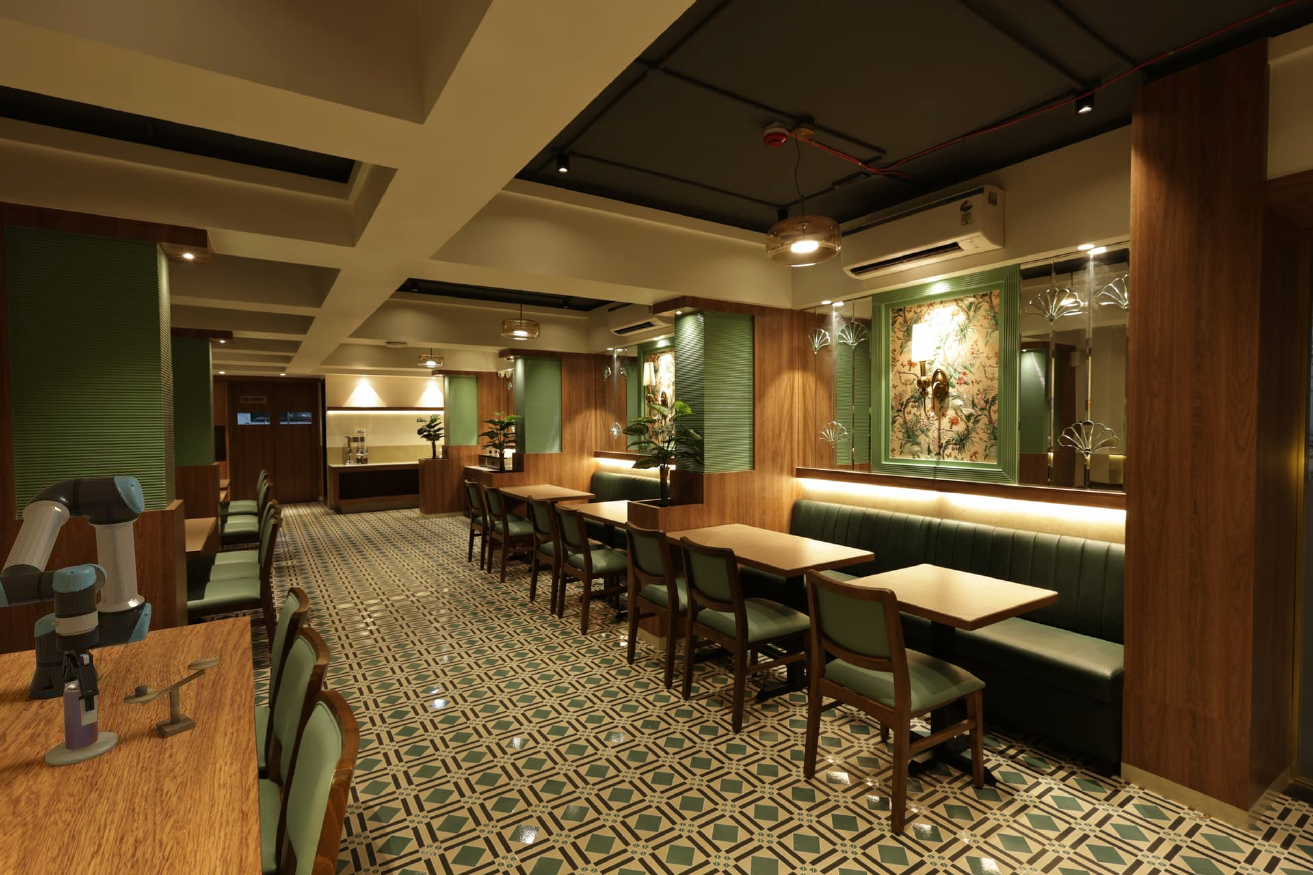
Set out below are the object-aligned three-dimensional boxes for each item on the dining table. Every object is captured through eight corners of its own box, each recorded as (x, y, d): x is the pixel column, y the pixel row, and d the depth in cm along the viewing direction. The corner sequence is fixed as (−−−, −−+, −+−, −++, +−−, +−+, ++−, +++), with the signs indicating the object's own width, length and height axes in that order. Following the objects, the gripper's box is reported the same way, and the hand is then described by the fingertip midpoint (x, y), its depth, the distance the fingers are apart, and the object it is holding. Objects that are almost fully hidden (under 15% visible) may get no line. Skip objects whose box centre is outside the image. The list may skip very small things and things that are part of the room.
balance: (120, 740, 154) (117, 682, 154) (214, 707, 171) (212, 655, 170) (130, 750, 150) (128, 690, 149) (226, 715, 167) (224, 661, 166)
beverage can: (78, 753, 146) (75, 692, 146) (58, 750, 147) (56, 690, 147) (105, 740, 152) (102, 681, 152) (86, 737, 153) (83, 679, 153)
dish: (39, 754, 148) (38, 749, 148) (108, 731, 159) (108, 726, 159) (52, 771, 141) (52, 766, 141) (125, 746, 151) (124, 741, 151)
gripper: (43, 624, 153) (47, 706, 154) (70, 646, 138) (74, 736, 139) (83, 616, 159) (86, 695, 160) (113, 636, 145) (117, 722, 146)
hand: (81, 714), depth 150 cm, fingers open, 13 cm apart
